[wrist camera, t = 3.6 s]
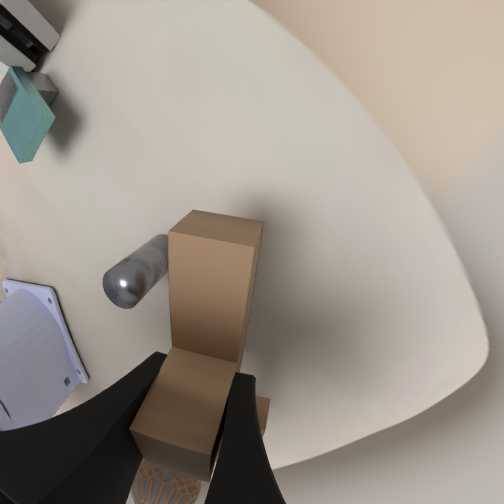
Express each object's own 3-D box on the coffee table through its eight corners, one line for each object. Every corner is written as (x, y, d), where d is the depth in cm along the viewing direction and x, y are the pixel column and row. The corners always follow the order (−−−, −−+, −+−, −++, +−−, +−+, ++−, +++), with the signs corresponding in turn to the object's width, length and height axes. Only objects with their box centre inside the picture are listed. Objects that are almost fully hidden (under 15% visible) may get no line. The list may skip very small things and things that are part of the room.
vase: (133, 437, 23) (100, 499, 15) (186, 441, 22) (156, 517, 13) (167, 469, 25) (144, 525, 17) (218, 473, 23) (200, 539, 15)
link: (254, 443, 14) (238, 517, 10) (168, 422, 15) (140, 490, 10) (317, 231, 8) (329, 369, 4) (147, 202, 9) (28, 285, 4)
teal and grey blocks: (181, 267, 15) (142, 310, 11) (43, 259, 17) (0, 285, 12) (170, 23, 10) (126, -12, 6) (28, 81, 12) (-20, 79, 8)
